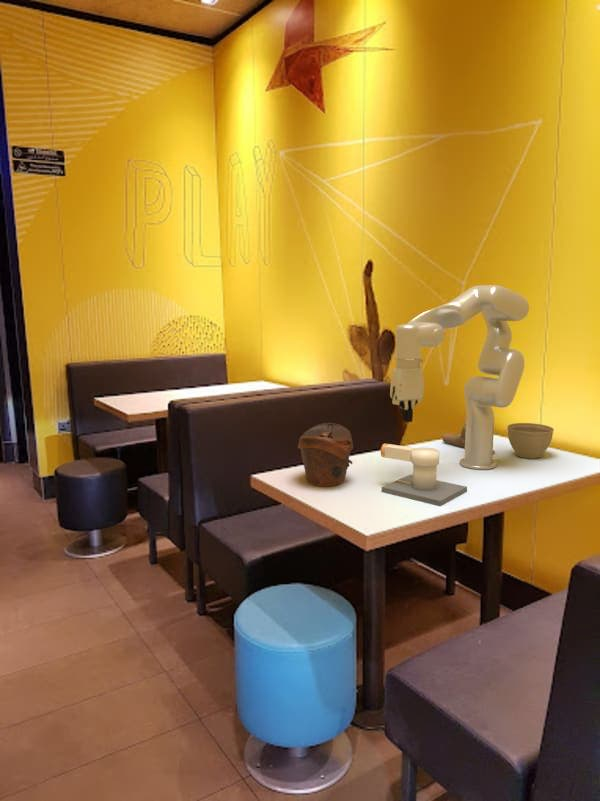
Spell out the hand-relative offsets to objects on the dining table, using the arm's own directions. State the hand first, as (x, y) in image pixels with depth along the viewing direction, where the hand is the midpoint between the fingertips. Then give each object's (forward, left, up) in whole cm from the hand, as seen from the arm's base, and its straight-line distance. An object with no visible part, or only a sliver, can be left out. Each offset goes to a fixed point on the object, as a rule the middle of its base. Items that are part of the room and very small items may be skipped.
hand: (407, 421), depth 190 cm
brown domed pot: (+16, -21, -20) cm, 33 cm away
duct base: (+5, +9, -20) cm, 23 cm away
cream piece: (+5, +5, -11) cm, 13 cm away
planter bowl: (-57, +18, -20) cm, 63 cm away
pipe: (-54, -8, -20) cm, 58 cm away
